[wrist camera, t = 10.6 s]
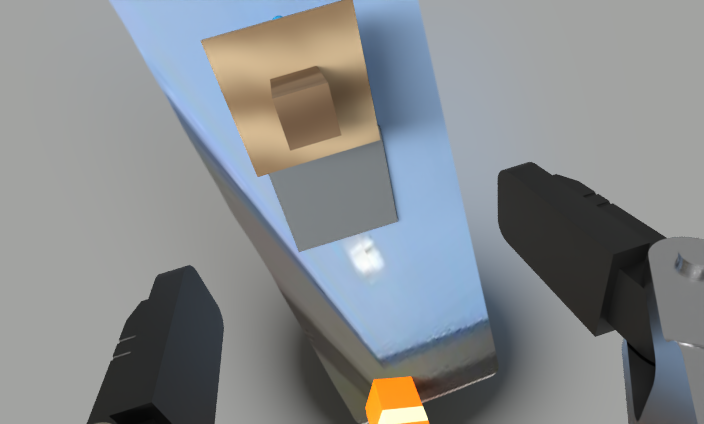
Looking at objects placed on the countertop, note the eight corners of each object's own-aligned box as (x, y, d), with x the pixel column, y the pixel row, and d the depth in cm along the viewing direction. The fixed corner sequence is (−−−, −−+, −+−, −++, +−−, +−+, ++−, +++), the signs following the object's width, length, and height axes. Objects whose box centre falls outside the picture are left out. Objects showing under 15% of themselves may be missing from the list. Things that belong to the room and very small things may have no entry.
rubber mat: (263, 159, 44) (263, 160, 44) (378, 125, 45) (379, 126, 44) (298, 250, 52) (299, 252, 51) (396, 219, 52) (397, 221, 52)
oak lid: (202, 39, 29) (188, 54, 24) (350, -3, 30) (371, 2, 24) (257, 173, 36) (257, 209, 30) (378, 136, 37) (400, 166, 31)
